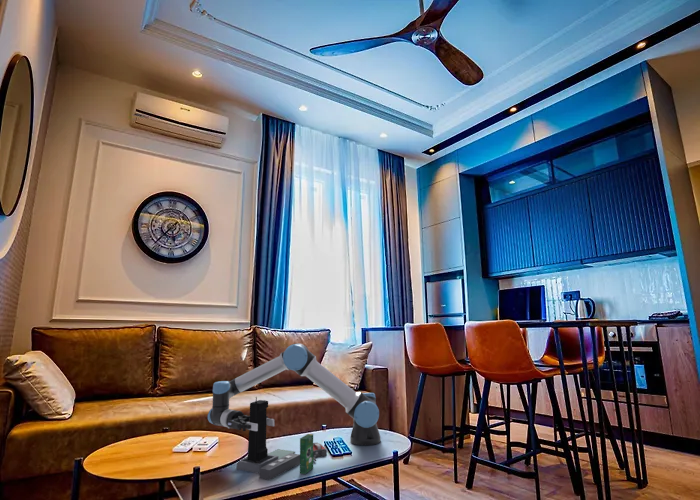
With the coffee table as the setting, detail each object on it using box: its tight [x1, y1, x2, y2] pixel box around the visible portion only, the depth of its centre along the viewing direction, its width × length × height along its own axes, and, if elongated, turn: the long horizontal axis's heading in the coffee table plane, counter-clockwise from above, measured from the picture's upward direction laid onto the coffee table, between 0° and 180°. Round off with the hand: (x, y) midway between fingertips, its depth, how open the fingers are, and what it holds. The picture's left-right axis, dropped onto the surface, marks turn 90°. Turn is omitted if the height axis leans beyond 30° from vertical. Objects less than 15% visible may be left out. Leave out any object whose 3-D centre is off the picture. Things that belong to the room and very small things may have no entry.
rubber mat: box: [268, 448, 296, 459], centre depth 175 cm, size 10×12×1 cm
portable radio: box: [246, 396, 269, 462], centre depth 165 cm, size 8×6×25 cm
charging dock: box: [236, 453, 300, 481], centre depth 160 cm, size 20×20×4 cm
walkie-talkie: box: [313, 441, 328, 462], centre depth 175 cm, size 9×4×20 cm
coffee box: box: [299, 433, 314, 475], centre depth 157 cm, size 8×3×13 cm, turn 162°
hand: (265, 425), depth 162 cm, fingers closed on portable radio, 8 cm apart
